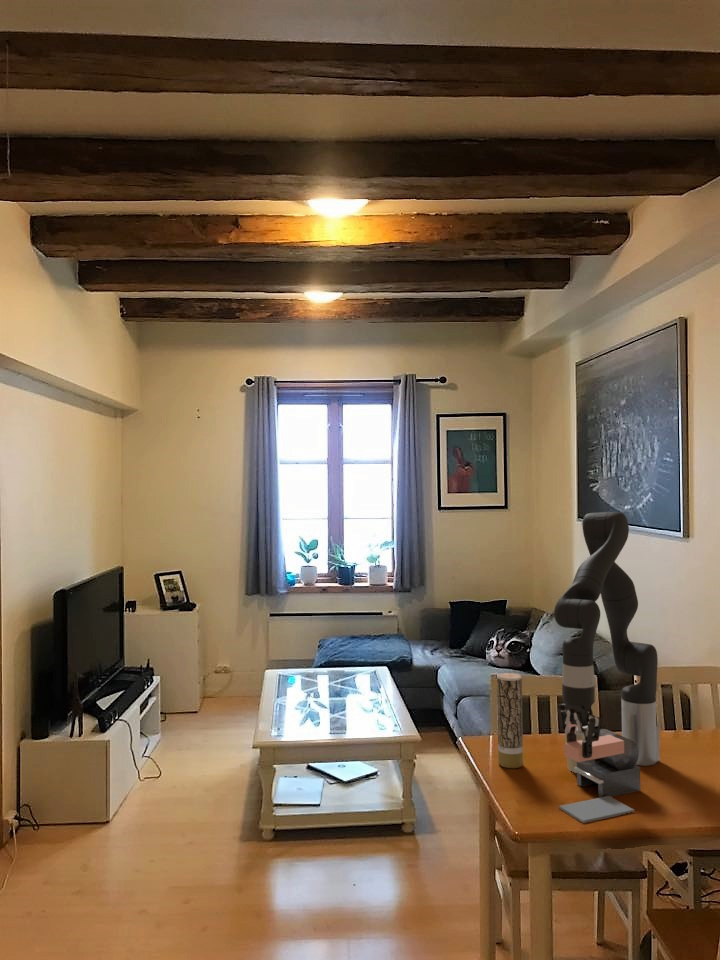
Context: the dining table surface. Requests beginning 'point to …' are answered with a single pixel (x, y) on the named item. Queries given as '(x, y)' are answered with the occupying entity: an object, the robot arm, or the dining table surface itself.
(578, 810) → the mat
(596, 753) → the pink block
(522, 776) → the dining table surface
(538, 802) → the dining table surface
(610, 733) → the dispenser
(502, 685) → the bark print canister
